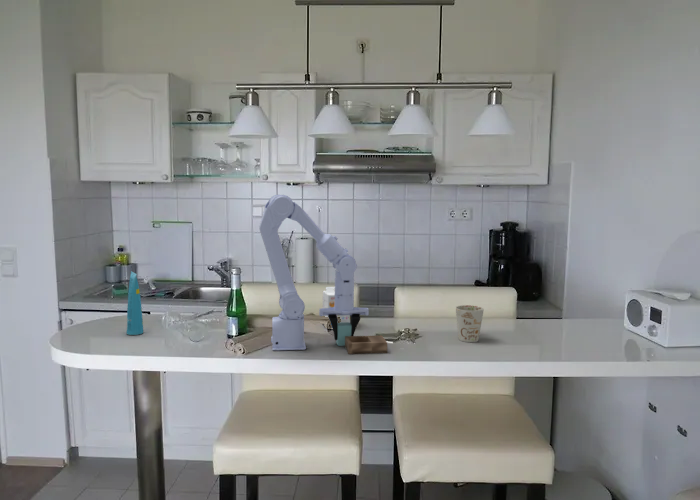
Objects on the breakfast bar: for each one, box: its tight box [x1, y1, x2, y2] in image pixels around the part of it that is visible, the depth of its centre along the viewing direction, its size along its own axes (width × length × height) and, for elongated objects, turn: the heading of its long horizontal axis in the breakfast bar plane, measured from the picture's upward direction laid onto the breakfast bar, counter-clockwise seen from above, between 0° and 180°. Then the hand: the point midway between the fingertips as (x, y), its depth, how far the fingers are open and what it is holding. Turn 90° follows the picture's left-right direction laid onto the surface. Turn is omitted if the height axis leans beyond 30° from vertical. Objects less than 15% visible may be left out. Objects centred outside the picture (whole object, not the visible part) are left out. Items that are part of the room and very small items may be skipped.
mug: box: [455, 304, 484, 343], centre depth 164 cm, size 8×13×10 cm, turn 152°
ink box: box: [322, 286, 350, 322], centre depth 176 cm, size 9×8×13 cm
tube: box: [126, 271, 144, 336], centre depth 163 cm, size 7×5×19 cm, turn 39°
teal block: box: [335, 322, 351, 347], centre depth 156 cm, size 4×4×6 cm
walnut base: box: [344, 335, 388, 355], centre depth 151 cm, size 11×8×3 cm
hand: (343, 339), depth 156 cm, fingers closed on teal block, 4 cm apart
